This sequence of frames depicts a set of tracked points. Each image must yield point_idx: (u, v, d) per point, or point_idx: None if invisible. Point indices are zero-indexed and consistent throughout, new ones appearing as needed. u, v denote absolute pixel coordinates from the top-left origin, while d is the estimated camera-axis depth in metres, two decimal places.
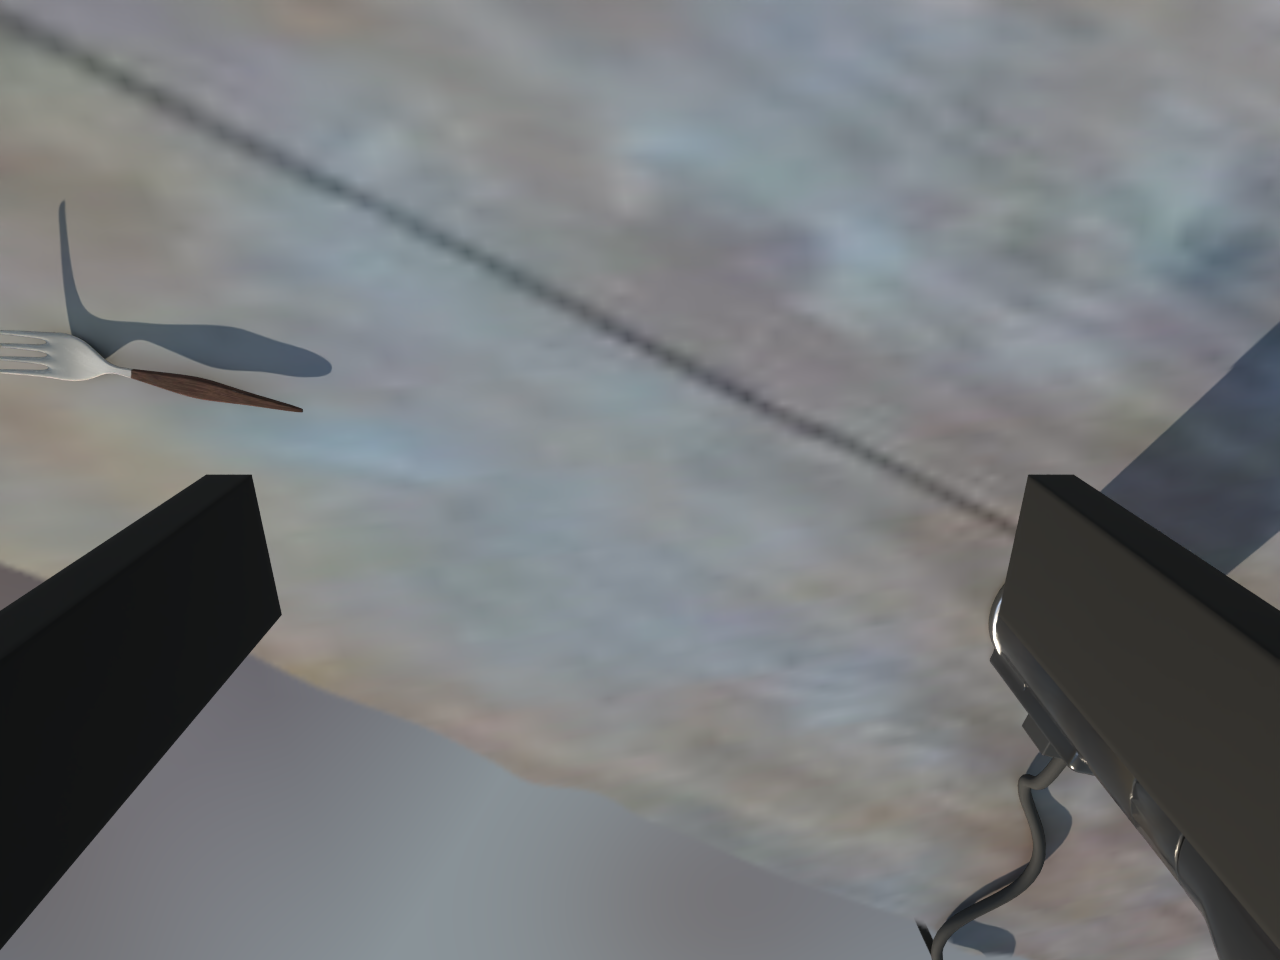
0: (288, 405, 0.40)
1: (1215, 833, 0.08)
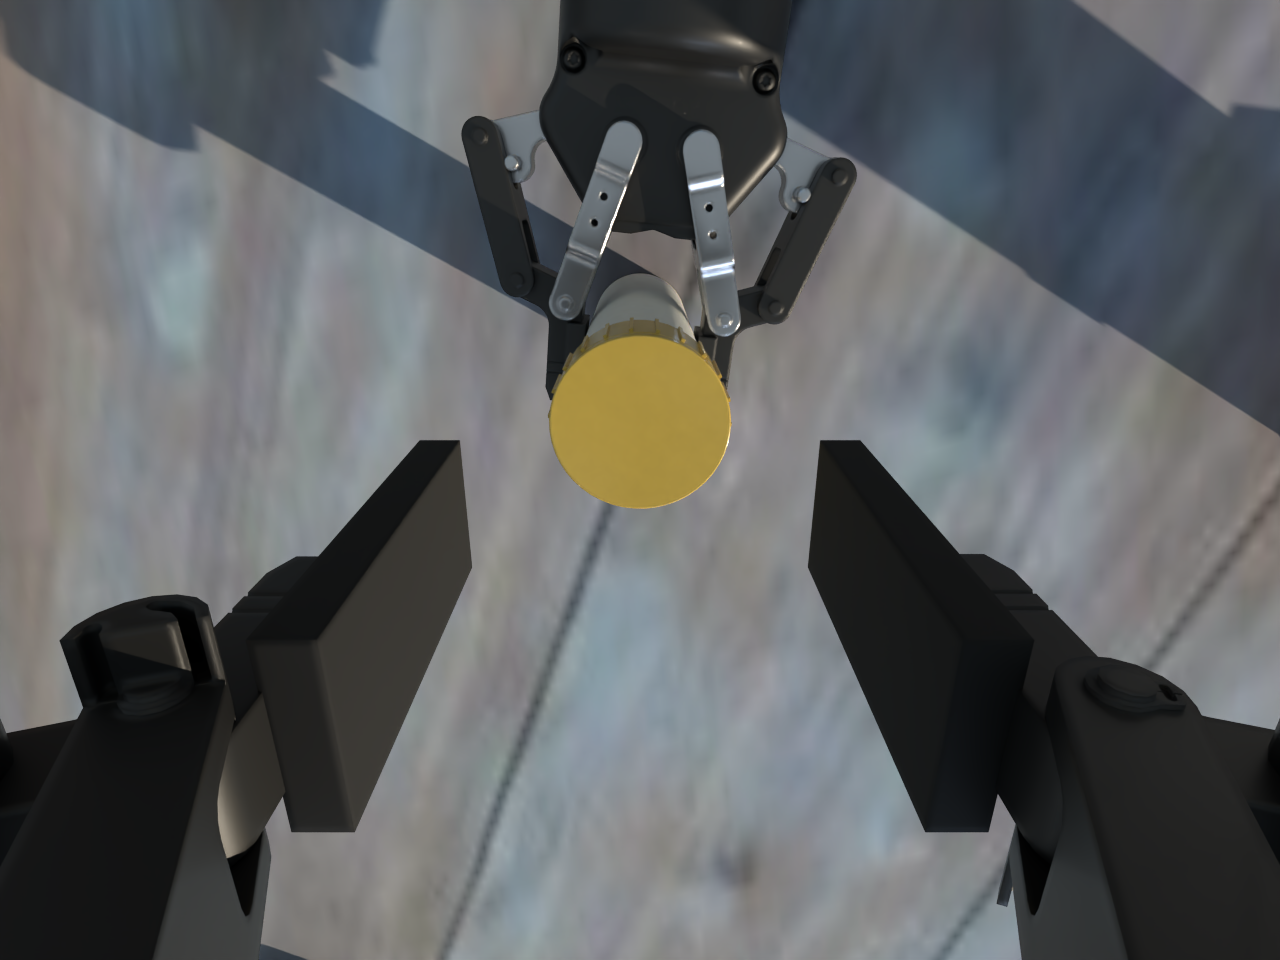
0: None
1: (892, 723, 0.10)
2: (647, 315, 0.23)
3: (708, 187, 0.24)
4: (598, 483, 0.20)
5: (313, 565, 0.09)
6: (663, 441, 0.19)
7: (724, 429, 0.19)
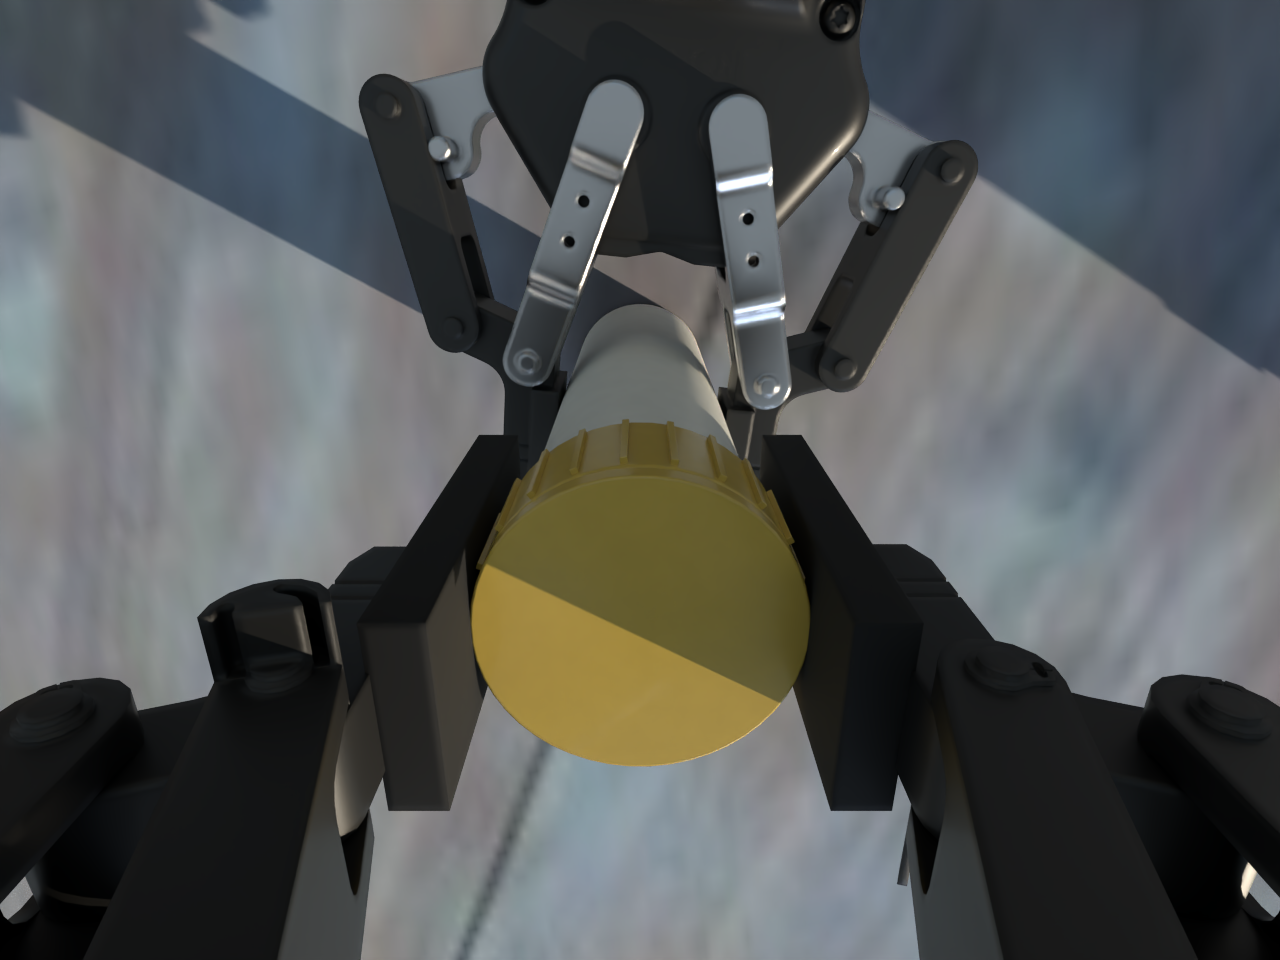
0: None
1: (809, 708, 0.10)
2: (652, 397, 0.14)
3: (748, 186, 0.15)
4: (564, 727, 0.11)
5: (404, 553, 0.09)
6: (684, 660, 0.10)
7: (798, 639, 0.10)
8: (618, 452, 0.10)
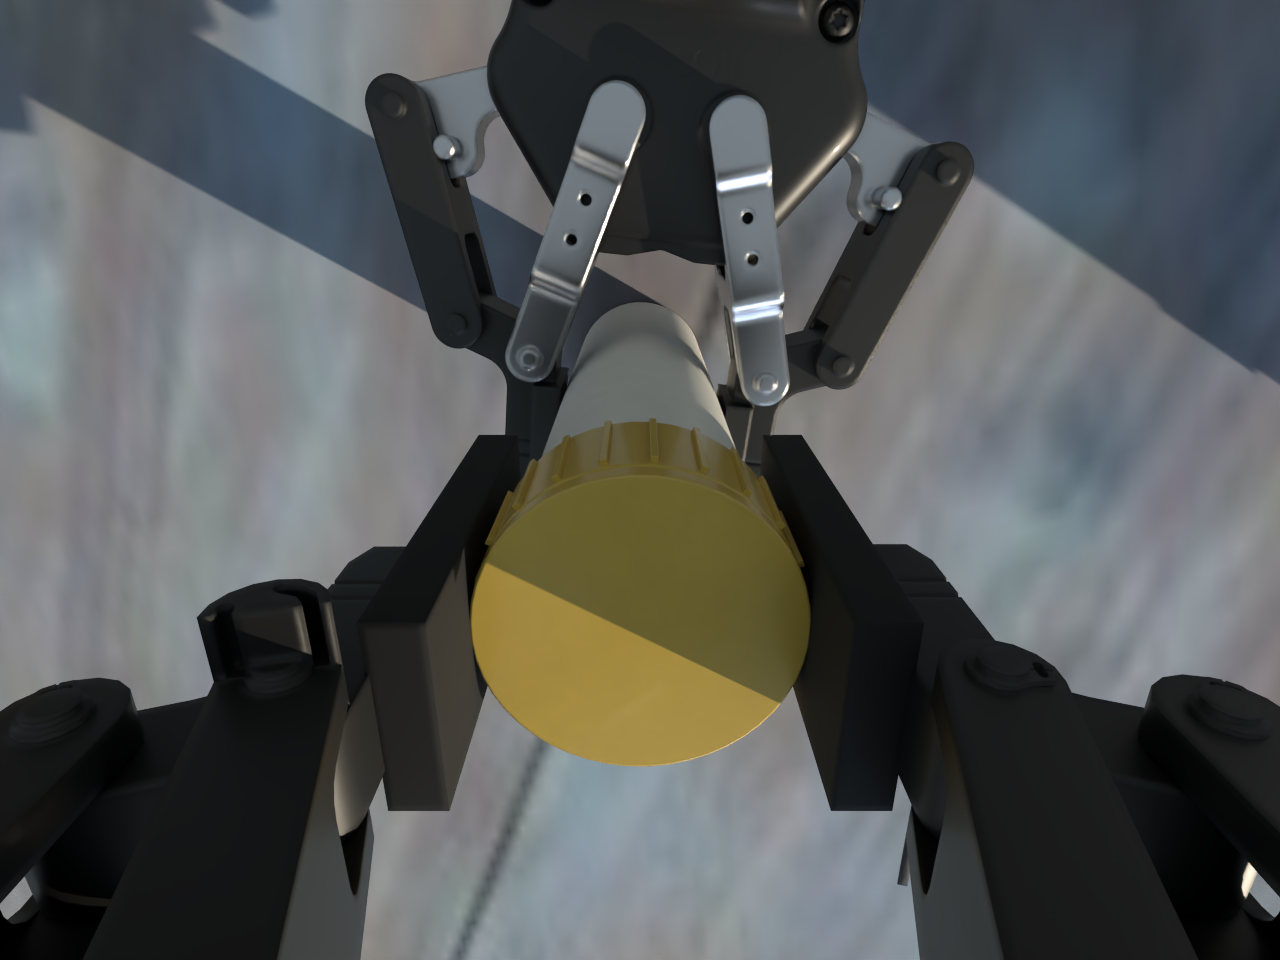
0: None
1: (810, 708, 0.10)
2: (652, 392, 0.14)
3: (747, 185, 0.16)
4: (770, 673, 0.10)
5: (403, 553, 0.09)
6: (659, 589, 0.10)
7: (603, 490, 0.09)
8: None
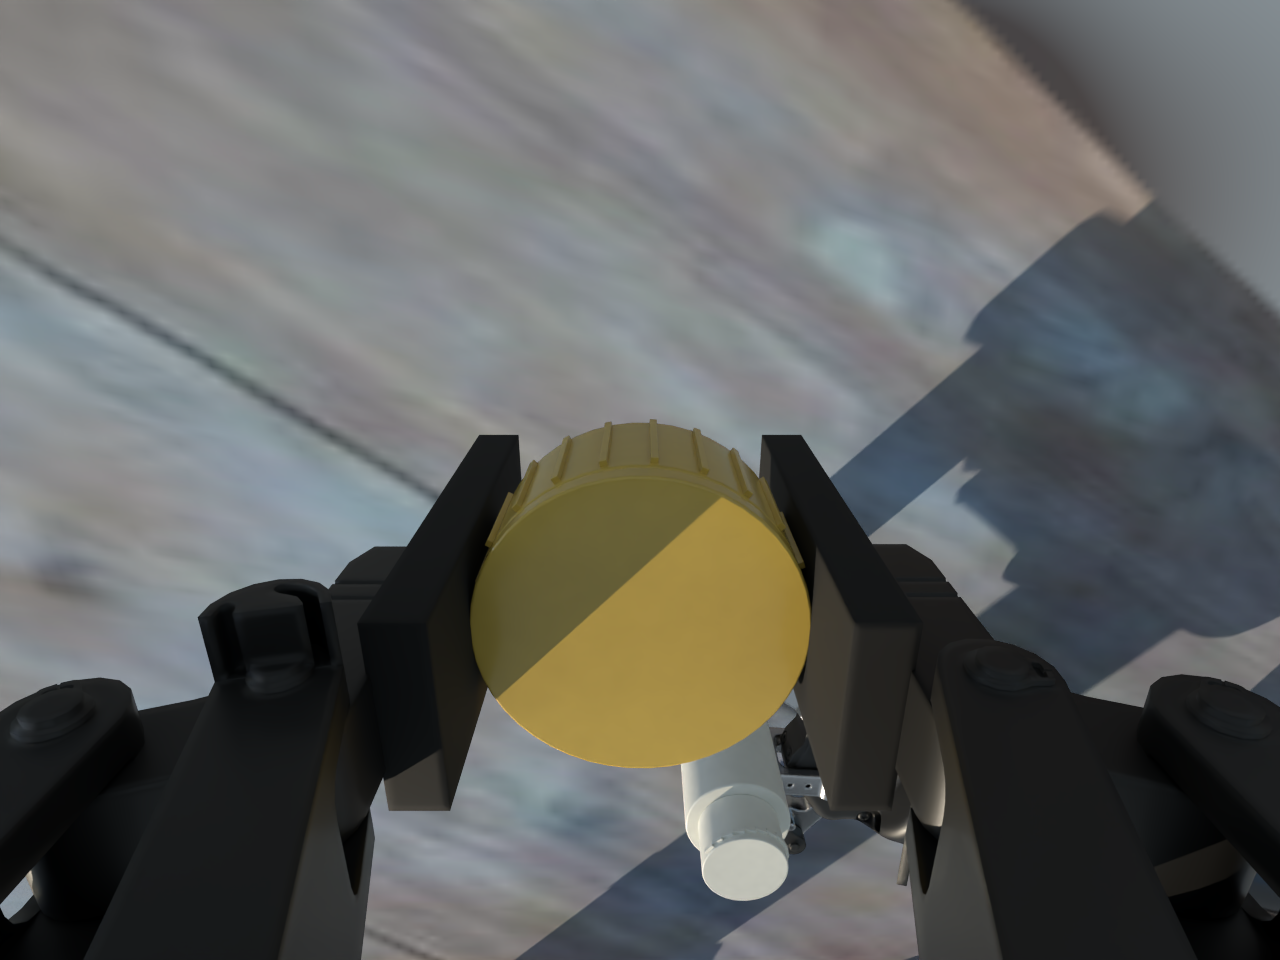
0: None
1: (809, 708, 0.10)
2: None
3: (821, 788, 0.36)
4: (771, 675, 0.10)
5: (403, 553, 0.09)
6: (659, 591, 0.10)
7: (603, 491, 0.09)
8: None
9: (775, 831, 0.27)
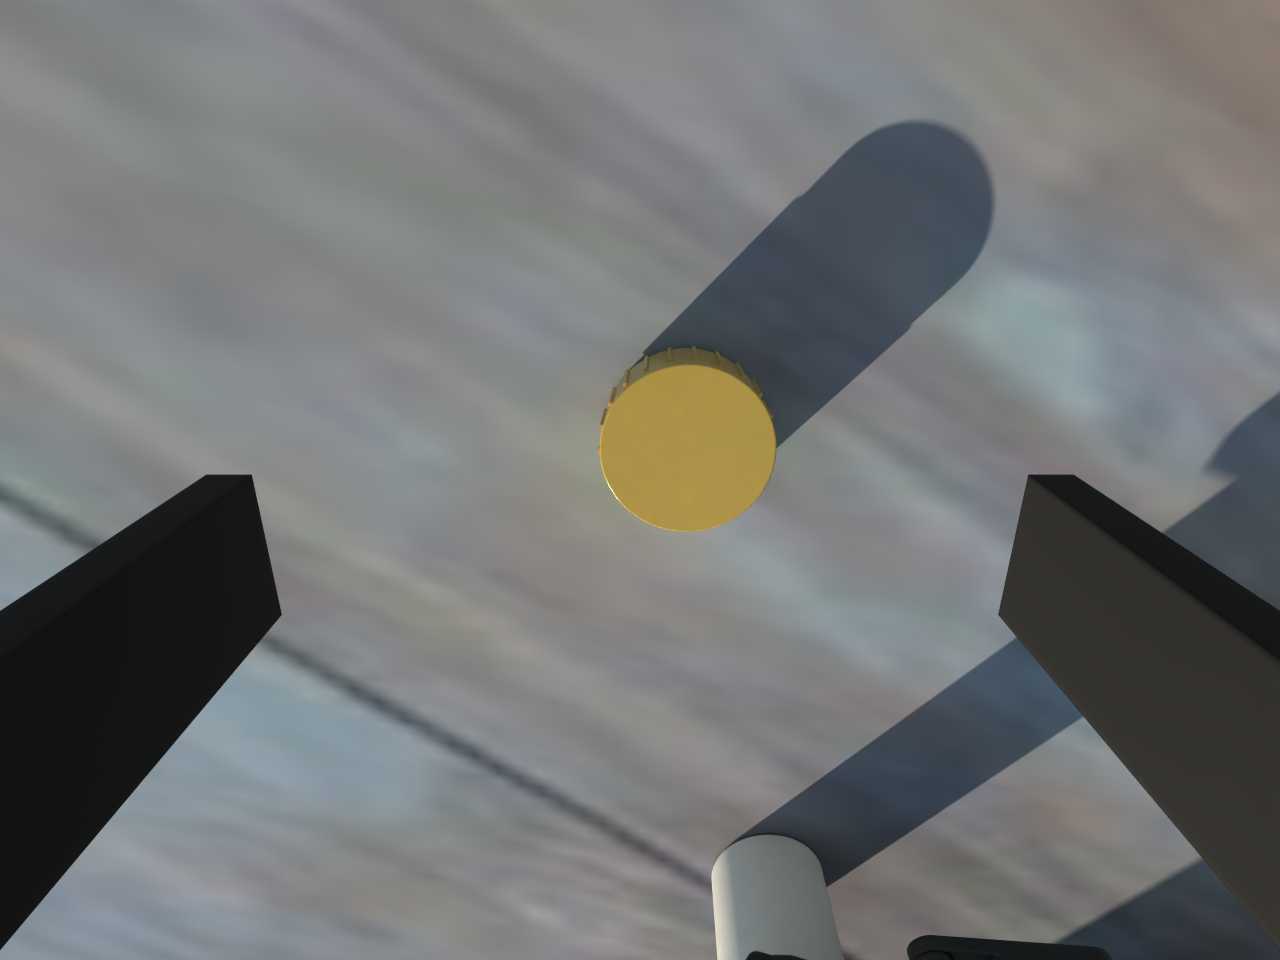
0: None
1: (1216, 832, 0.08)
2: None
3: None
4: (755, 475, 0.20)
5: None
6: (698, 425, 0.19)
7: (671, 371, 0.19)
8: None
9: None
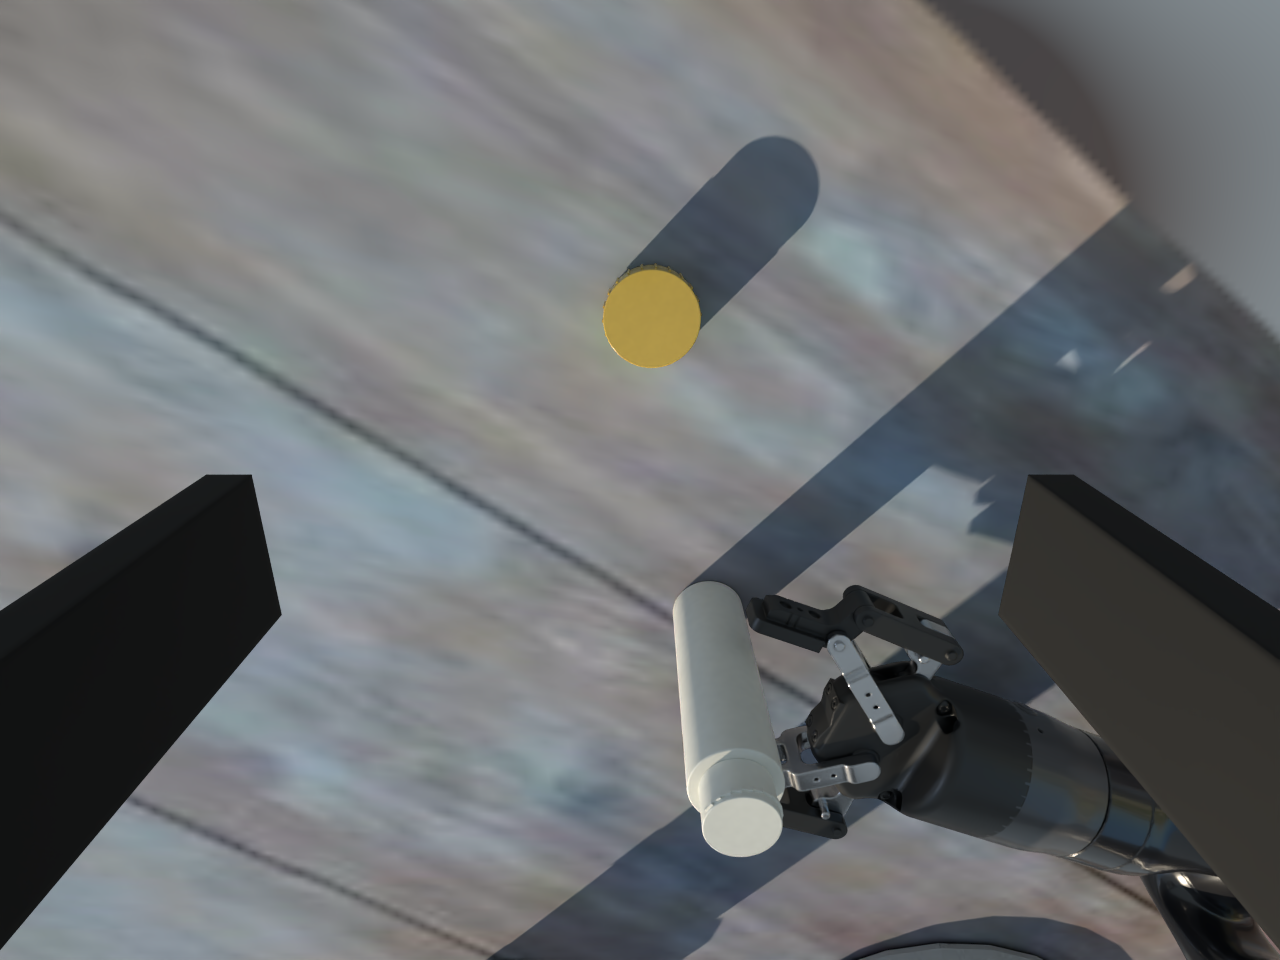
0: None
1: (1216, 833, 0.08)
2: None
3: (846, 774, 0.38)
4: (689, 333, 0.35)
5: None
6: (657, 304, 0.35)
7: (642, 273, 0.34)
8: None
9: (770, 791, 0.29)
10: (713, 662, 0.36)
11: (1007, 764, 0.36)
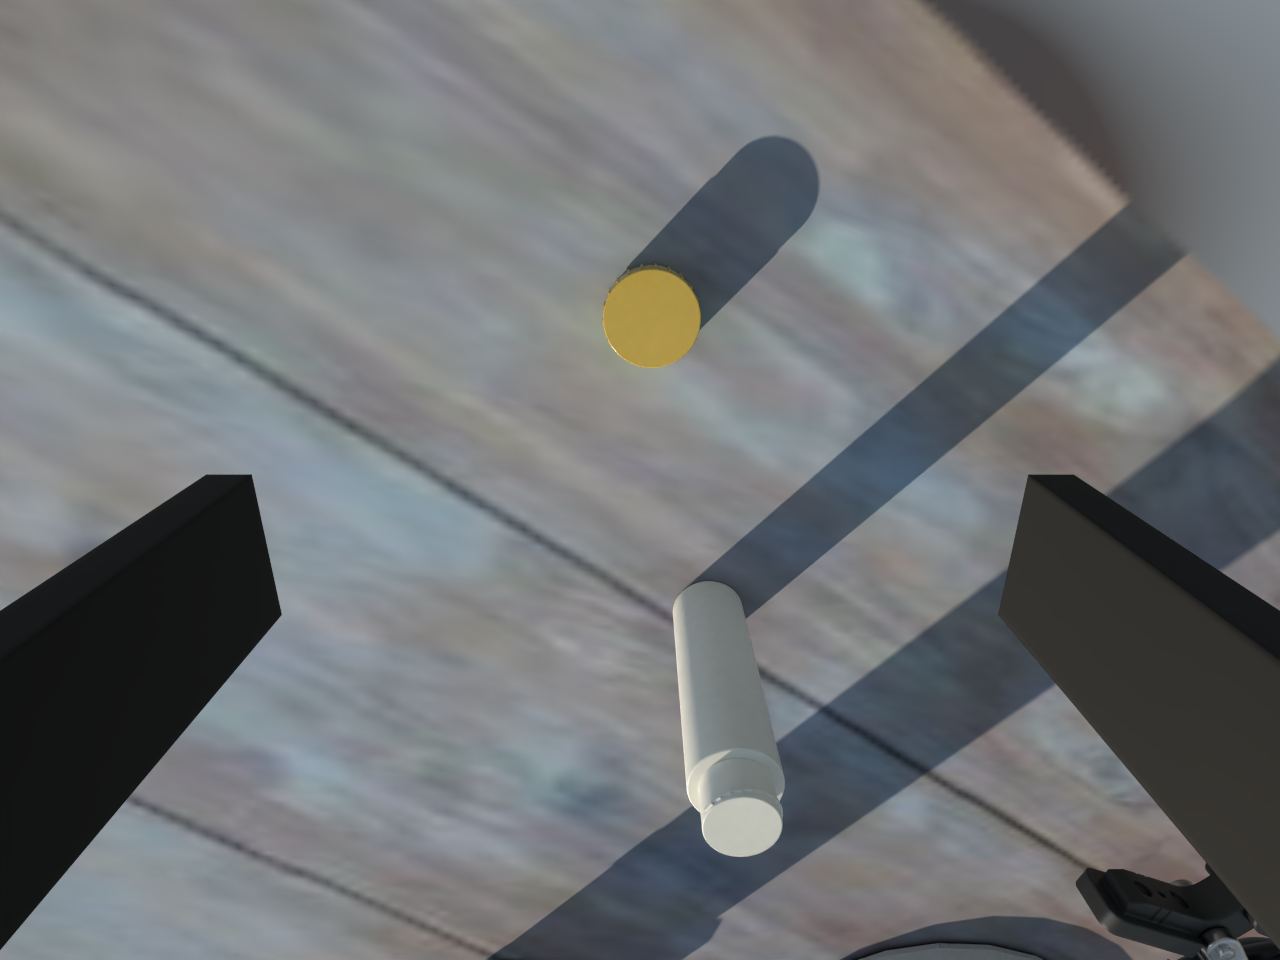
0: None
1: (1215, 832, 0.08)
2: None
3: None
4: (689, 333, 0.35)
5: None
6: (657, 304, 0.35)
7: (642, 273, 0.34)
8: None
9: (770, 791, 0.29)
10: (713, 661, 0.36)
11: None
